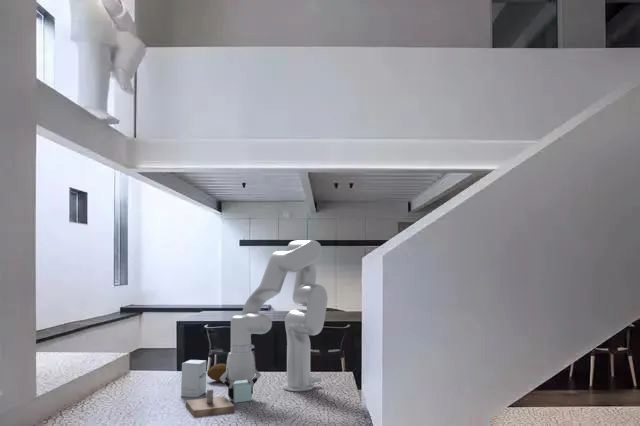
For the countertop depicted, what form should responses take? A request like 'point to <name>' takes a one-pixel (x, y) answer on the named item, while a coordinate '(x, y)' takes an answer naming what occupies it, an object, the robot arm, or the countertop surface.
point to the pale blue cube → (241, 391)
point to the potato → (217, 372)
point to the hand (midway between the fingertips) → (240, 397)
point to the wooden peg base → (209, 405)
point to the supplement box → (193, 378)
